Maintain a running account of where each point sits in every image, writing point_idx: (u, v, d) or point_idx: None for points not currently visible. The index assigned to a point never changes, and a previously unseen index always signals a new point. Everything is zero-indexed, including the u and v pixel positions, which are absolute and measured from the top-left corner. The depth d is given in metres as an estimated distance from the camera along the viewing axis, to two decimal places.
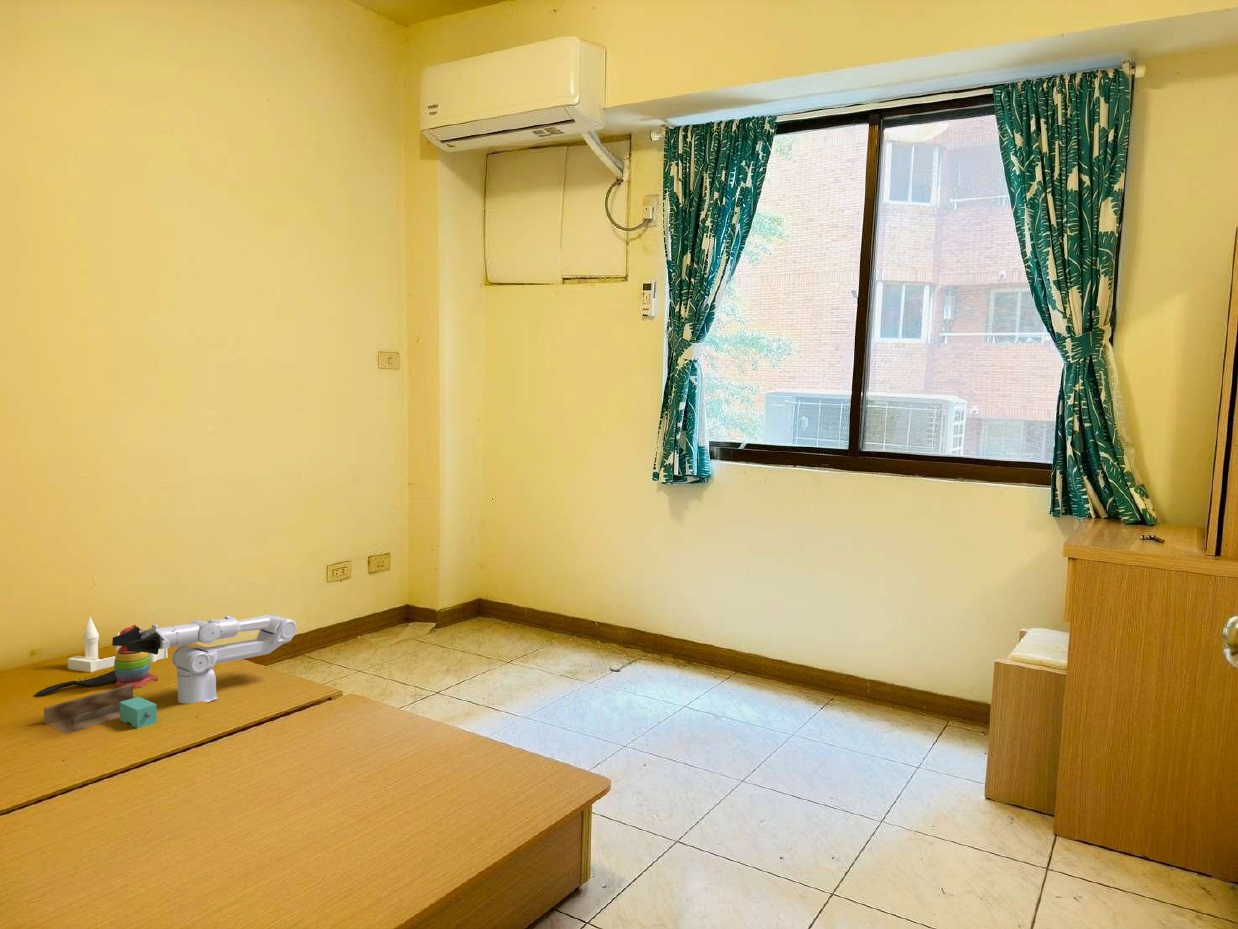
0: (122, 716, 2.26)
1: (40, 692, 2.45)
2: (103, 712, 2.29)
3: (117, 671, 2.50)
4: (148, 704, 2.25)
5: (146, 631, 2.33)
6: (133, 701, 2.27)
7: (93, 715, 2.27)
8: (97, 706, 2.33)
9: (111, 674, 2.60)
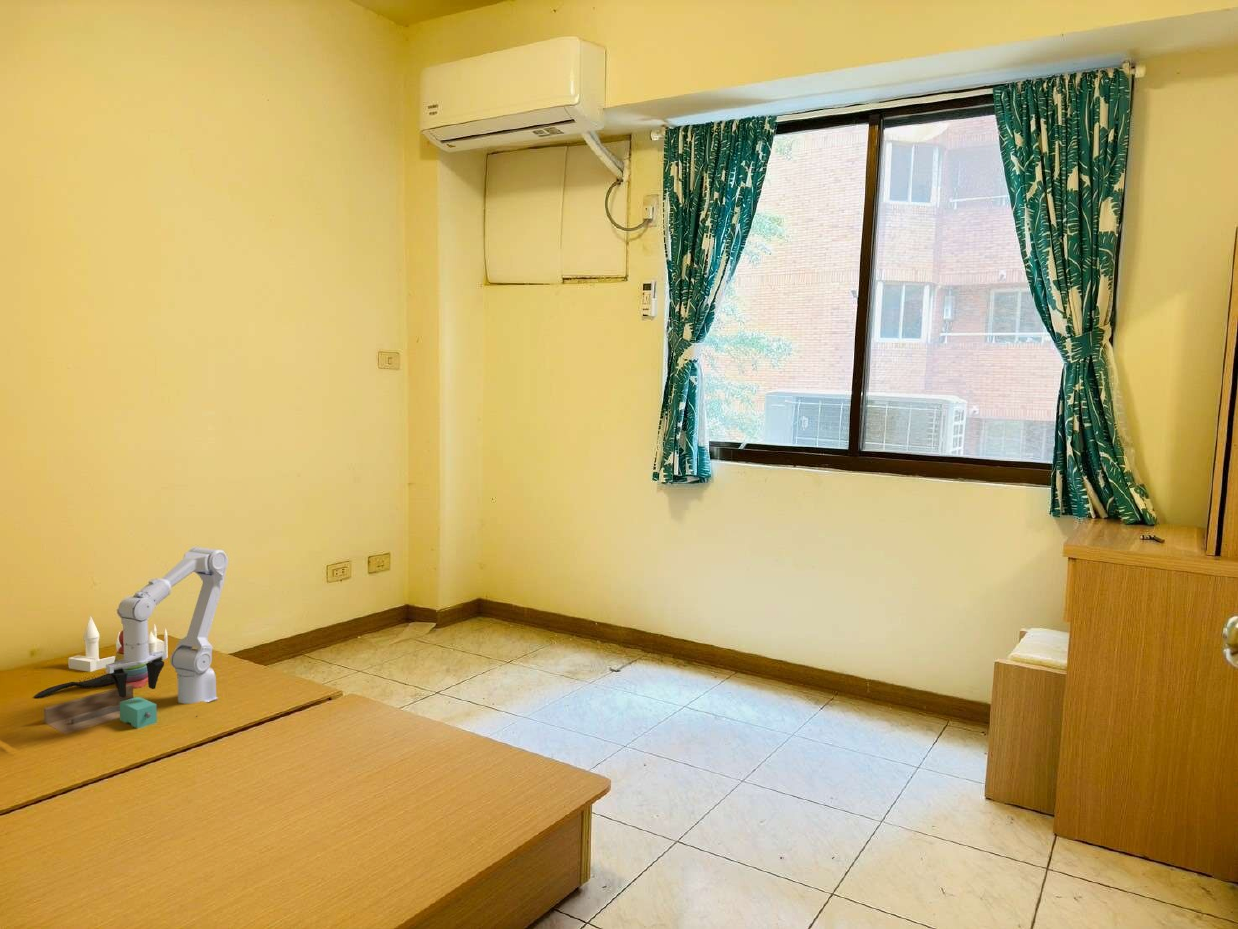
0: (122, 716, 2.26)
1: (40, 693, 2.44)
2: (103, 712, 2.29)
3: None
4: (148, 704, 2.25)
5: None
6: (133, 701, 2.27)
7: (93, 715, 2.27)
8: (97, 706, 2.33)
9: None
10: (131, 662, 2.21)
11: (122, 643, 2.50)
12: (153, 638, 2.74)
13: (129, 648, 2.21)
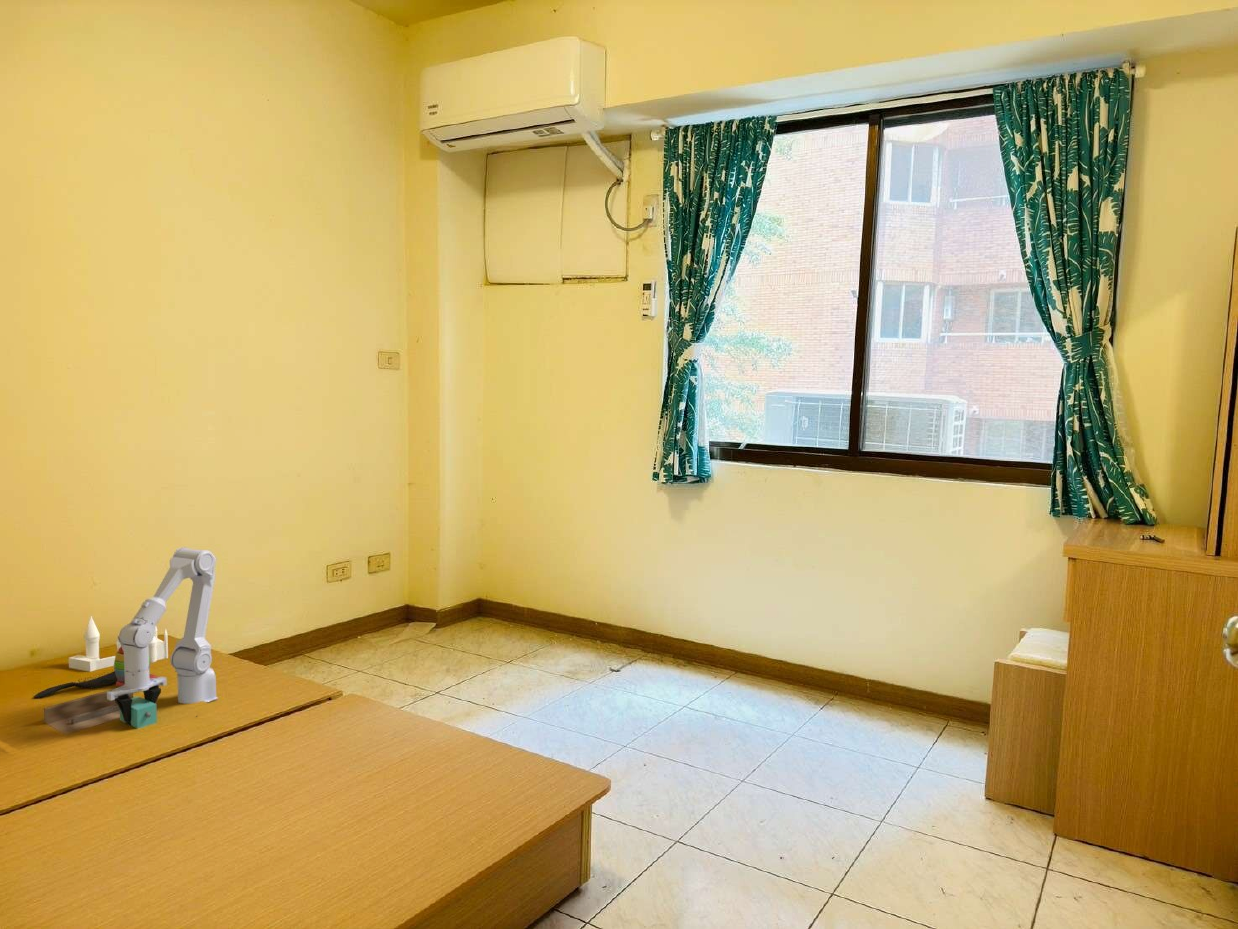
0: (122, 716, 2.26)
1: (39, 694, 2.43)
2: (103, 712, 2.29)
3: (117, 671, 2.50)
4: (148, 703, 2.25)
5: None
6: (133, 701, 2.27)
7: (93, 715, 2.27)
8: (97, 706, 2.33)
9: (110, 675, 2.58)
10: (132, 689, 2.22)
11: None
12: (153, 638, 2.74)
13: (130, 675, 2.22)
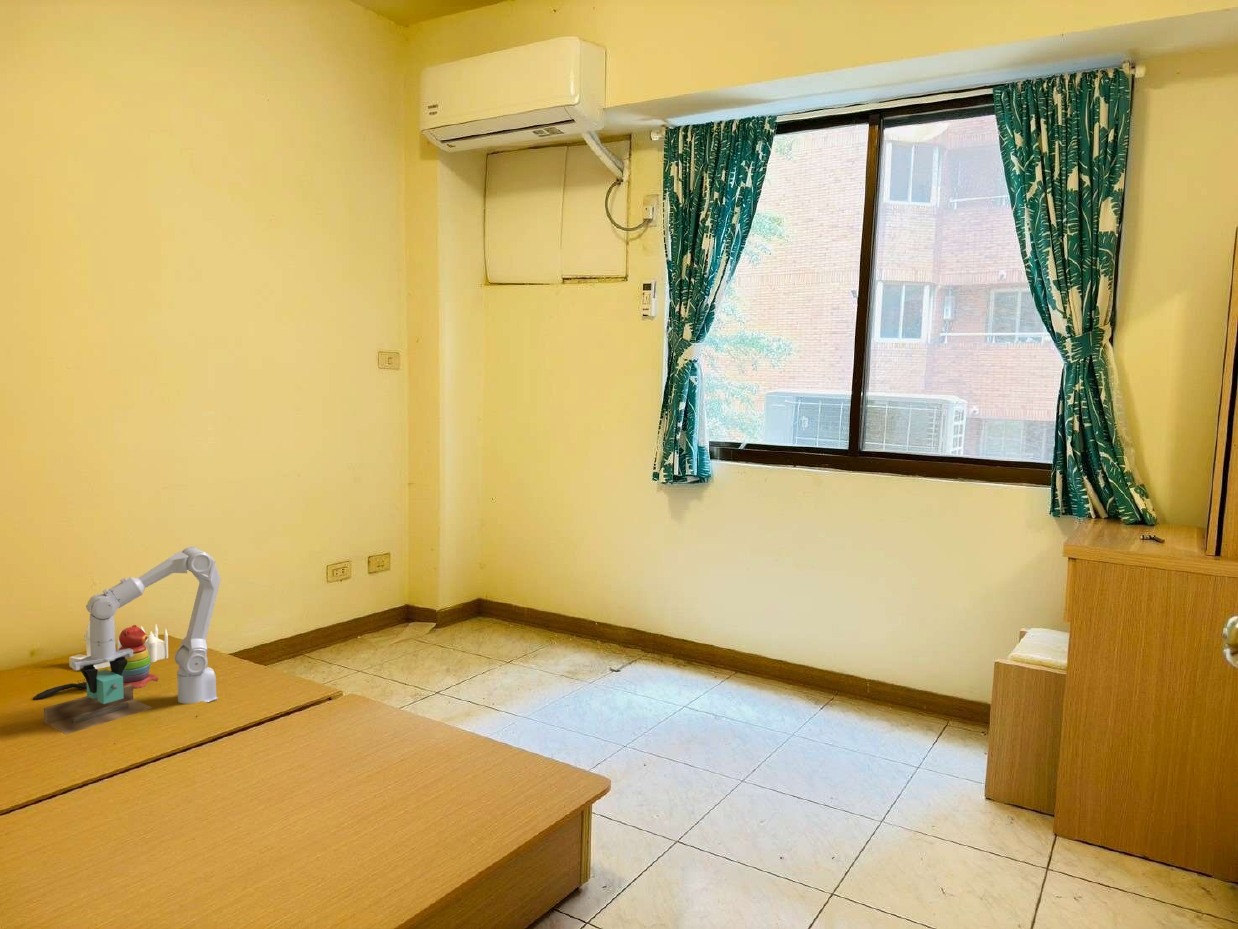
0: None
1: (38, 695, 2.42)
2: (103, 712, 2.29)
3: None
4: (115, 676, 2.26)
5: None
6: (100, 673, 2.27)
7: (93, 715, 2.27)
8: (97, 706, 2.33)
9: None
10: (97, 659, 2.23)
11: (122, 643, 2.50)
12: (153, 638, 2.74)
13: (95, 645, 2.23)
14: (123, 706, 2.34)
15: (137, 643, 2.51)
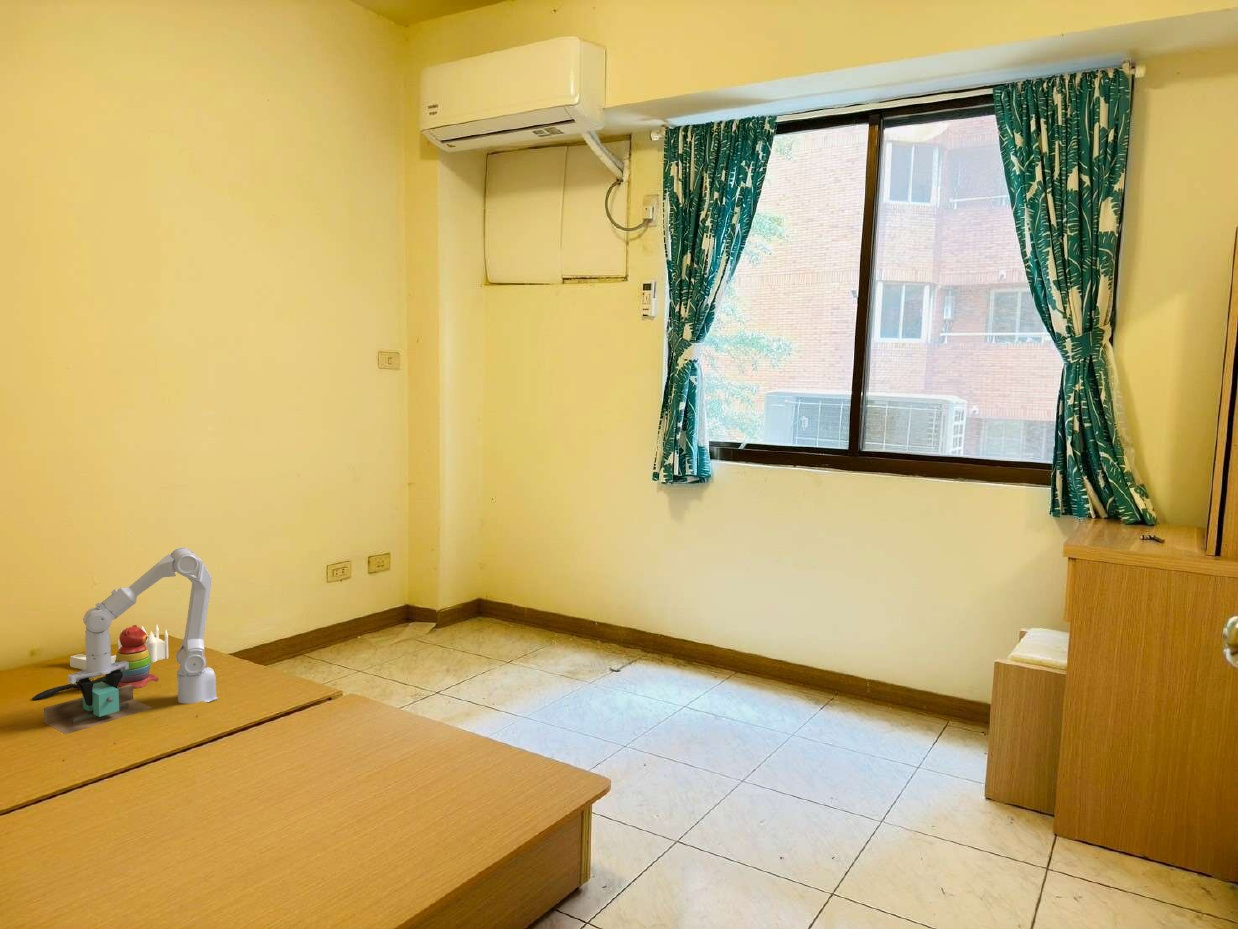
0: None
1: (37, 695, 2.42)
2: None
3: None
4: (110, 689, 2.28)
5: None
6: (96, 686, 2.29)
7: (93, 715, 2.27)
8: None
9: None
10: (93, 672, 2.25)
11: (123, 643, 2.50)
12: (153, 638, 2.74)
13: (91, 658, 2.25)
14: (123, 706, 2.34)
15: (138, 643, 2.51)
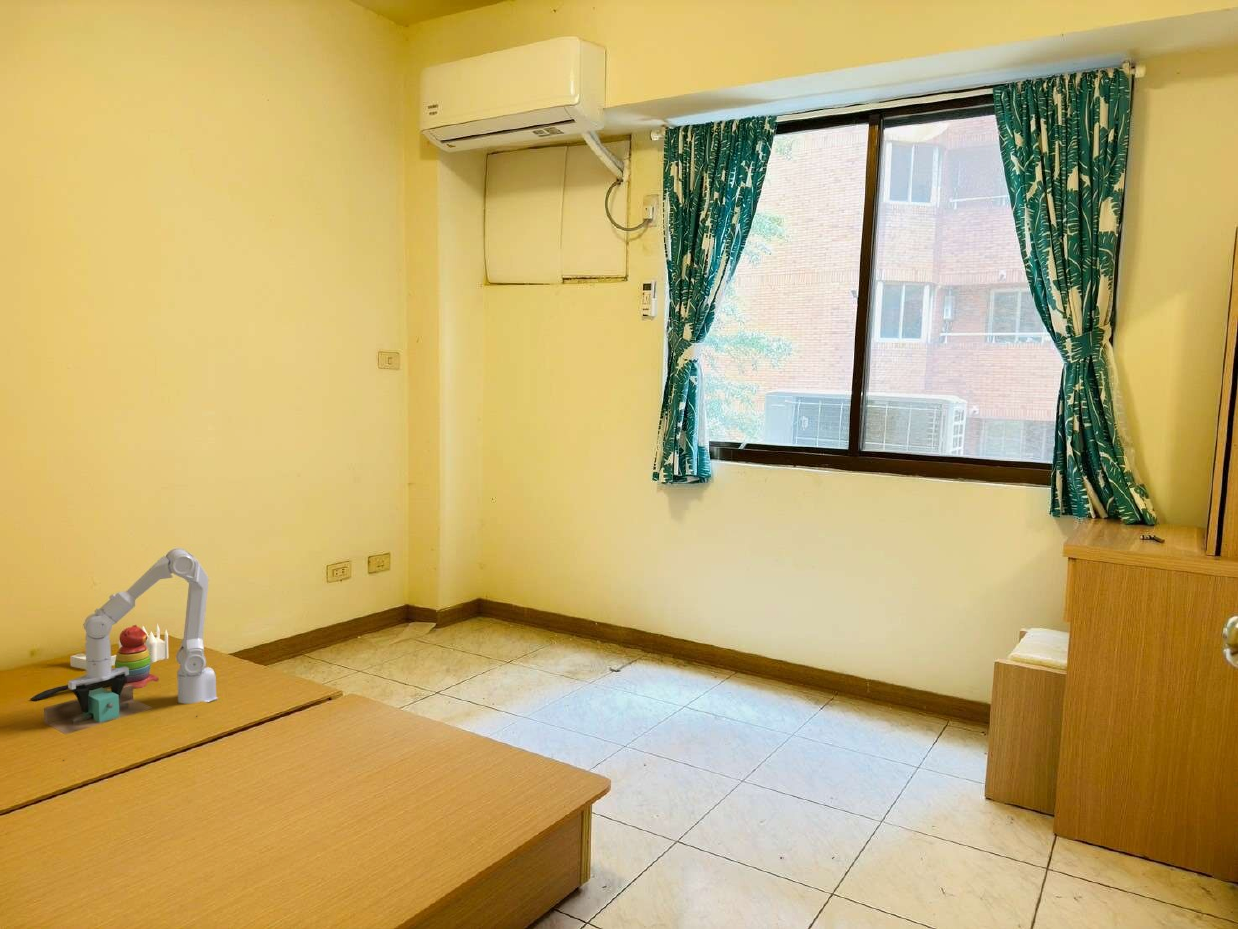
0: None
1: (36, 696, 2.42)
2: None
3: None
4: (110, 694, 2.28)
5: None
6: (96, 692, 2.30)
7: (93, 715, 2.27)
8: None
9: None
10: (93, 678, 2.25)
11: (123, 643, 2.50)
12: (153, 638, 2.74)
13: (91, 664, 2.25)
14: (123, 706, 2.34)
15: (138, 643, 2.51)
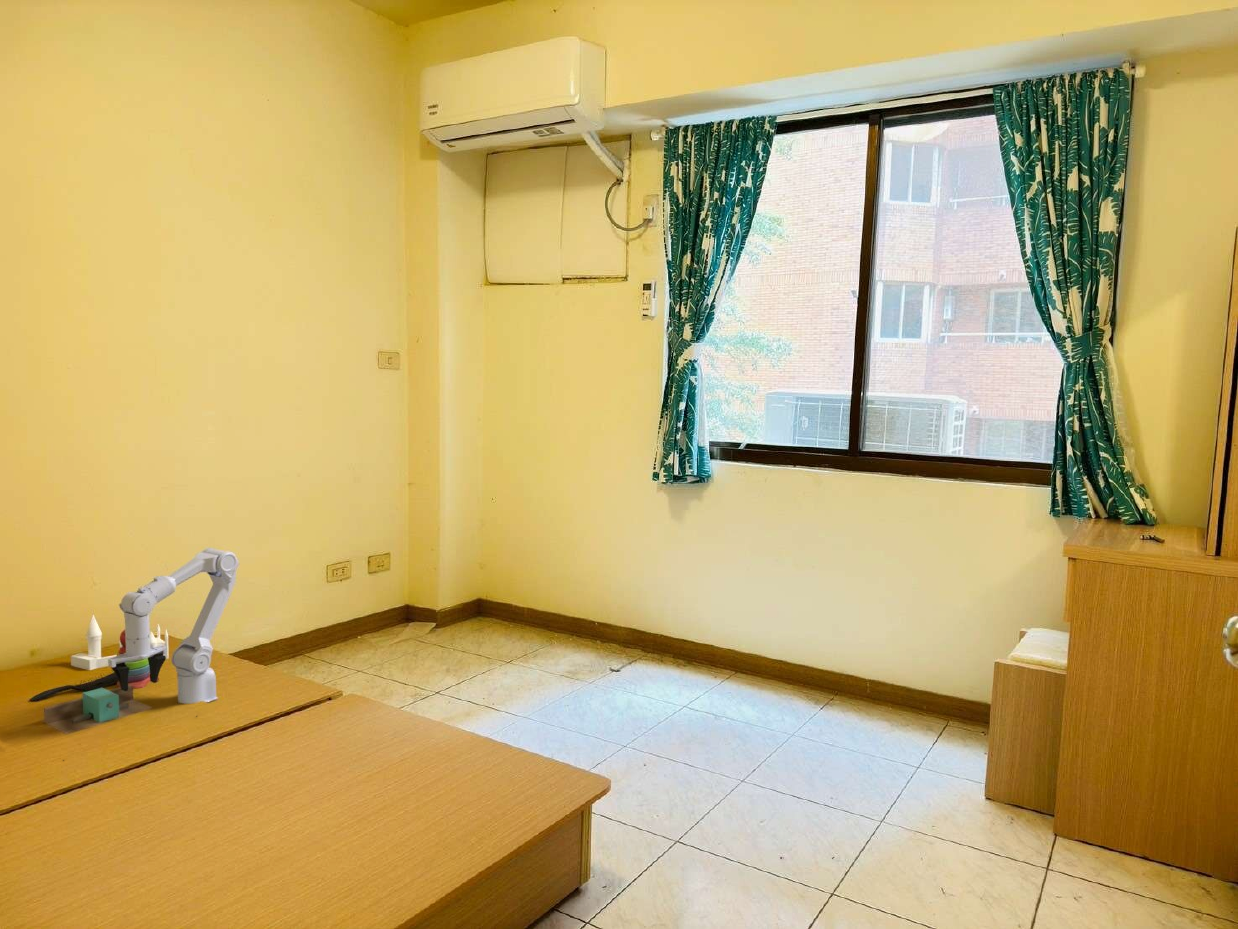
0: (85, 707, 2.29)
1: (35, 697, 2.41)
2: None
3: None
4: (110, 694, 2.28)
5: None
6: (96, 692, 2.30)
7: (93, 715, 2.27)
8: None
9: (107, 678, 2.56)
10: (133, 656, 2.25)
11: (123, 643, 2.50)
12: (153, 638, 2.74)
13: (131, 642, 2.25)
14: (123, 706, 2.34)
15: None
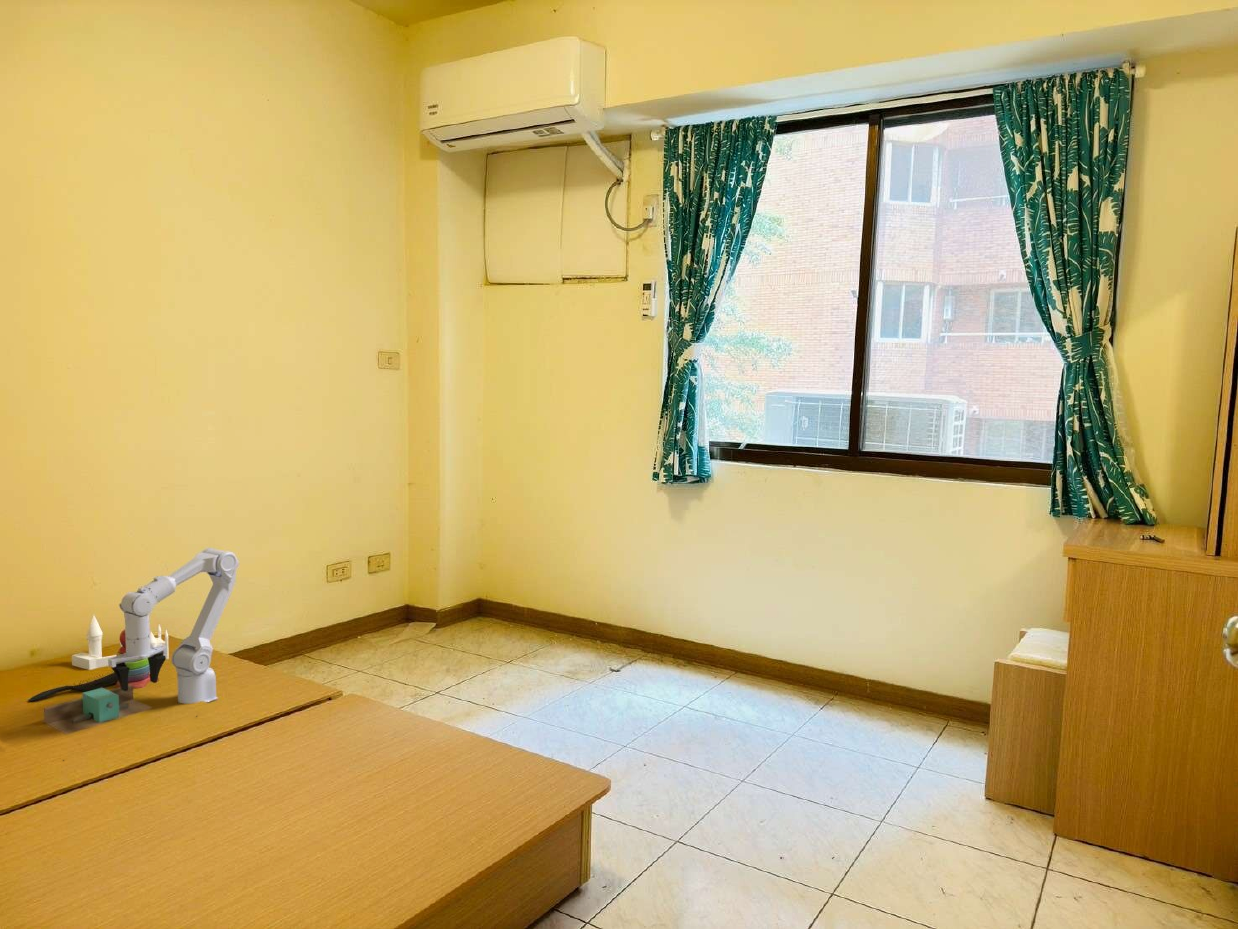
0: (85, 707, 2.29)
1: (34, 697, 2.41)
2: None
3: None
4: (110, 694, 2.28)
5: None
6: (96, 692, 2.30)
7: (93, 715, 2.27)
8: None
9: (106, 678, 2.56)
10: (133, 656, 2.25)
11: (123, 643, 2.50)
12: (153, 639, 2.74)
13: (131, 642, 2.25)
14: (123, 706, 2.34)
15: None
